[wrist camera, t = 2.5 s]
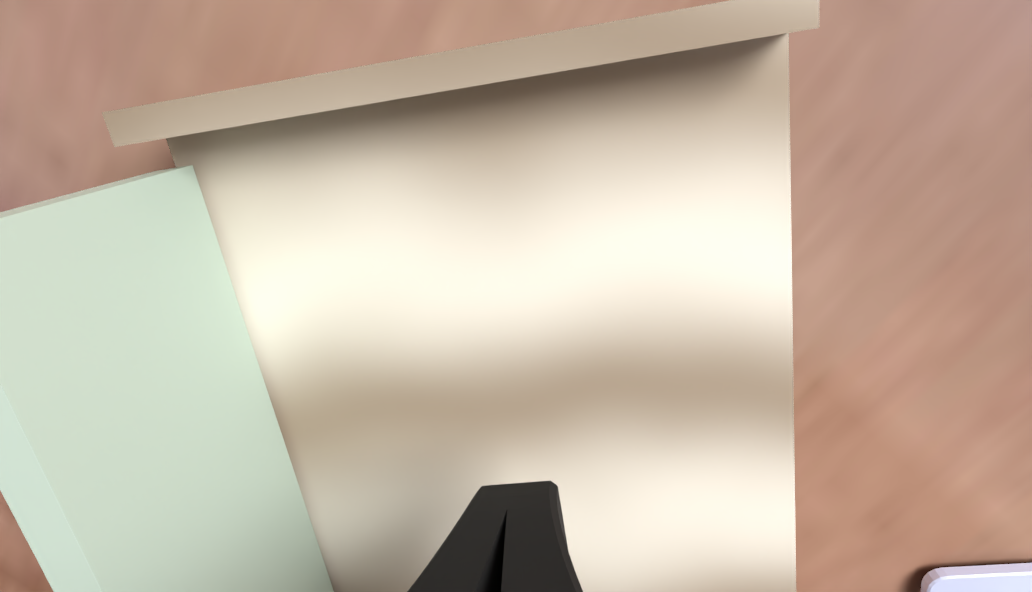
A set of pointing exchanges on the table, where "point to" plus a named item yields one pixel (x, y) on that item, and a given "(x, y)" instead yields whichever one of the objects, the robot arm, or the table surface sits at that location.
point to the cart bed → (525, 290)
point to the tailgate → (140, 402)
